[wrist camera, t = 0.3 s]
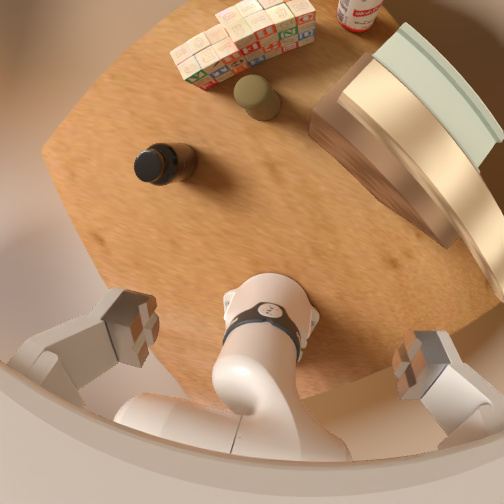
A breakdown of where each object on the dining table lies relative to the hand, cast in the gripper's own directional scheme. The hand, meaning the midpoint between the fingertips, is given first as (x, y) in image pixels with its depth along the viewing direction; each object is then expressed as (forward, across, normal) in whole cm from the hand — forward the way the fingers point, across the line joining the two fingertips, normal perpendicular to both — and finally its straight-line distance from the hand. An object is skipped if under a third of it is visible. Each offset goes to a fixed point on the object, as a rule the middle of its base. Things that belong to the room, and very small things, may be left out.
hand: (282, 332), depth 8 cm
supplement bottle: (+42, -19, -4) cm, 46 cm away
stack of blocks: (+44, -8, +17) cm, 48 cm away
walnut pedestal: (+40, +11, +2) cm, 42 cm away
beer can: (+44, +9, +27) cm, 52 cm away
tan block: (+14, +14, +3) cm, 20 cm away
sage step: (+41, +17, +9) cm, 45 cm away
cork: (+43, -5, +7) cm, 44 cm away
